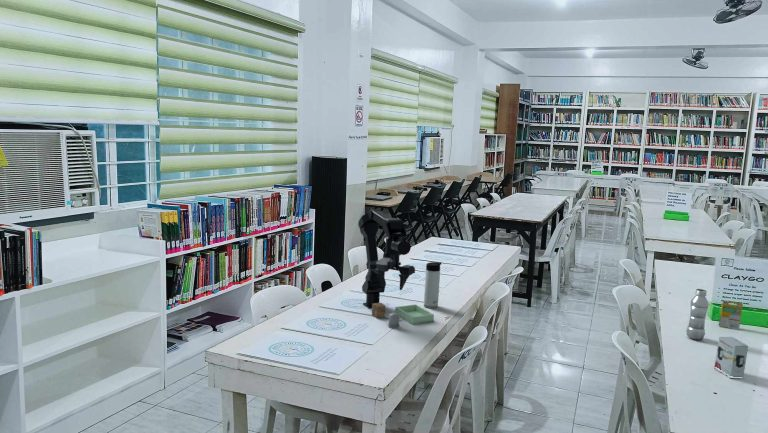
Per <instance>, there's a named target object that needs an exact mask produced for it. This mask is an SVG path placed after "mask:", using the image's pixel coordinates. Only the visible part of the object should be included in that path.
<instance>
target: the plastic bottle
mask: <svg viewBox="0 0 768 433" xmlns="http://www.w3.org/2000/svg"><path fill="white" fill-rule="evenodd" d="M706 296H707V290H706V289H703V288H696V291H695V295H694V297H693V298H691V300H690V314H689V321H688V325H687V327H686V336H687V338H689V339H692V340H696V341H698V340H699V341H700V340H703V339H704V338H705V334H706V333H705V332H706V329H705V323H706V321H705V320H706V316H707V312H708V309H709V305H710V303H709V301H708V299H707V297H706Z"/></svg>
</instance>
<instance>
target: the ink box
mask: <svg viewBox="0 0 768 433" xmlns="http://www.w3.org/2000/svg"><path fill="white" fill-rule="evenodd" d="M748 351H749V345H748V344H746V343H745V342H742V341H741V340H739V339H738V338H735V337H733V336H719V337H718V343H717V348H716V355H715V361H714V367H717V368H719V369H720V370H722V371H723V372H725V373H726V374H728V375H729V376H733V377H743V378H744V374H745V369H746V365H747V364H746V362H747V361H746V360H747V357H748Z"/></svg>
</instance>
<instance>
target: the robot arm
mask: <svg viewBox="0 0 768 433" xmlns="http://www.w3.org/2000/svg"><path fill="white" fill-rule="evenodd" d="M379 226H382V230H383V232H384V233H385V235H384V238H385V252H383V255H382V258H380V259H379V255H378V254H379V253H378V245H377V237H376V236H377V234H378V232H379ZM358 228H359V231H360V234H361V236H363V237H364V242H365V243H364V244H365V252H366V261H367V269H368V270H367V272H366V274H365V280H364V283H363V284H362V286H361V292H362V293H364V294H365V296H366V297H365V302H362V305H363V306H365V307H367V308H368V309H372V304H374V303H380V296H381V294H380V293H382V294H383V293H385V290H386V285H387V281H386V279H385V275H386V272H388V271H389V270H393V271H398V272H399V273H400V274H399V273H398V276H399V291H403V288H404V287H405V285H406V282H407V281H408V278H409V277H410V276H411V275H413V274H415V273H416V268H415V266H414V265H409V264H404V265H402V262H401V261H400V256H406V255H407V254H409V253H410V251H411V249H412V246H411V244H410V243H411V242H409V241H408V240H407V237H408V236H407V232H408V231H407V229H406V227H405V225H404V222H403V220H402V219H401V218H397V217H396V218H394V217H390V216H389V215H387V214H386V213H384V212H383V211H382V210H381V209H379V208H378V209H369V210H368V212H366V213H364V214H362V215H361V217H360V218H359V220H358Z"/></svg>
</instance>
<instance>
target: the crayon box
mask: <svg viewBox="0 0 768 433" xmlns="http://www.w3.org/2000/svg"><path fill="white" fill-rule="evenodd" d="M743 305H744V303H742V302H738V301H737V302H735V301H728V300H723V301H722V303H721V305H720V306H721V308H720V314H719V315H720V316H719V322H718V326H719V327H720V328H725V327H726V328H725V329H731V328H732V329H733V330H737V329H738V331H739V330H740V326H741V318H742V312H743Z"/></svg>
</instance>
